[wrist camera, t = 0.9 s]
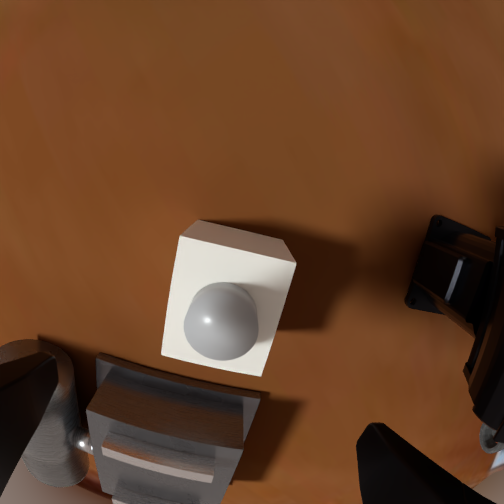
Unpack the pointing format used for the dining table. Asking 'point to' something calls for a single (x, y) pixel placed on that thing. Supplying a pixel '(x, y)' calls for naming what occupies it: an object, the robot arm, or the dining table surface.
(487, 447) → the tankard
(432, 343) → the dining table surface
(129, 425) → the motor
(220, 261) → the white knobbed block
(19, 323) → the dining table surface
